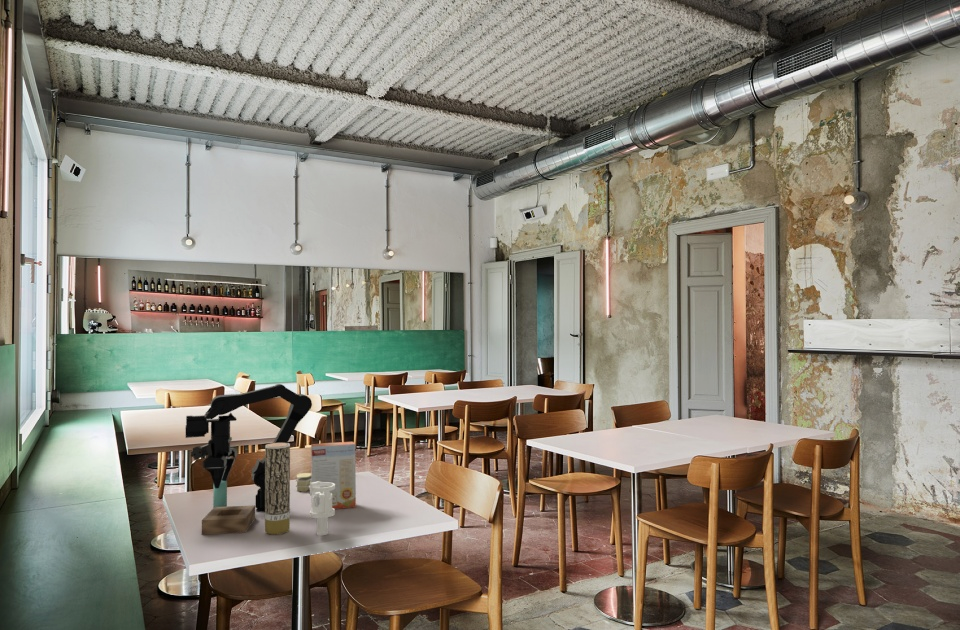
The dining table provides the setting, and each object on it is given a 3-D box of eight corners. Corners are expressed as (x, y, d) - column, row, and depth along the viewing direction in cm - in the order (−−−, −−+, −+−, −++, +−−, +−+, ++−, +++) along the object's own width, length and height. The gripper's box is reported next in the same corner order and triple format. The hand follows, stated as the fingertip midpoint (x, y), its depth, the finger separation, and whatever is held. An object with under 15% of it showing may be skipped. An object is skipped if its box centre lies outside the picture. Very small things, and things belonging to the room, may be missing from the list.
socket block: (255, 518, 200) (255, 505, 200) (245, 532, 186) (245, 518, 186) (214, 520, 198) (214, 507, 198) (201, 534, 184) (201, 520, 184)
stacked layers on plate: (312, 493, 232) (313, 478, 232) (288, 493, 232) (288, 477, 232) (321, 486, 242) (321, 472, 242) (297, 486, 242) (297, 471, 242)
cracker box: (353, 503, 217) (353, 440, 217) (356, 507, 211) (356, 443, 212) (310, 506, 213) (310, 443, 213) (311, 511, 207) (312, 446, 207)
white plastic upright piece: (305, 533, 185) (305, 480, 185) (328, 528, 189) (328, 477, 189) (315, 539, 179) (315, 485, 179) (339, 534, 183) (339, 481, 184)
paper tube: (260, 531, 186) (261, 444, 187) (282, 526, 191) (282, 441, 191) (271, 537, 181) (272, 447, 182) (293, 531, 186) (294, 444, 187)
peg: (228, 511, 207) (228, 480, 207) (225, 515, 203) (225, 483, 203) (215, 512, 206) (215, 480, 207) (211, 516, 202) (212, 483, 203)
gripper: (202, 431, 213) (202, 479, 213) (184, 441, 195) (184, 493, 195) (237, 430, 215) (237, 477, 215) (223, 440, 197) (223, 491, 196)
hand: (220, 484), depth 205 cm, fingers open, 9 cm apart
